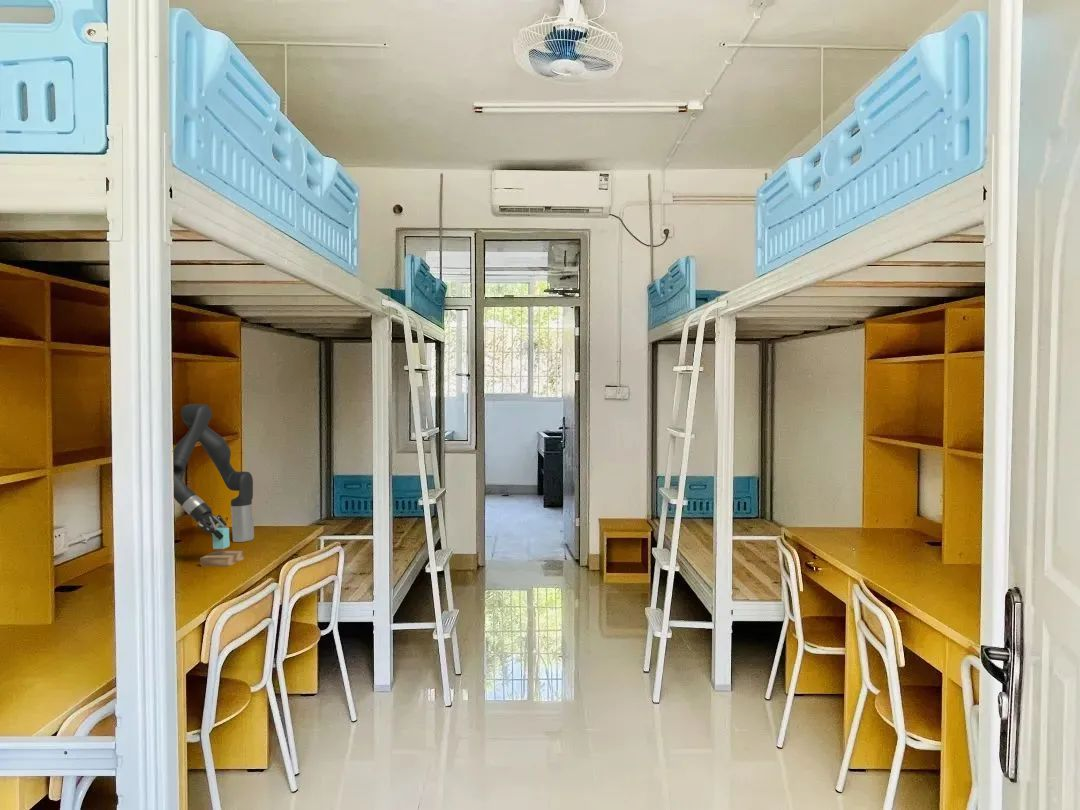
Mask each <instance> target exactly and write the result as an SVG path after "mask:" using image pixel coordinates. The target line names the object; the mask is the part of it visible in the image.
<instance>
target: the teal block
mask: <svg viewBox="0 0 1080 810" xmlns="http://www.w3.org/2000/svg"><path fill="white" fill-rule="evenodd" d="M216 529H217V530H218V531H219V532H220V533H221V534H222V535H223V538H222V539H220V540H219V539H218V538H217V537H216V536H215V535H214V534H211V535H212V550H224V549H227V548H229V547H230V546H231V545H230V544H231V543H230V541H231V540H230V535H229V532H230V527H227V526H225V527H222V528H221V527H220V528H216Z"/></svg>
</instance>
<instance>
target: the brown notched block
mask: <svg viewBox="0 0 1080 810" xmlns="http://www.w3.org/2000/svg"><path fill="white" fill-rule="evenodd" d="M244 553H245V552H244V550H215V551H214V552H210V553H209V554H206V555H204V556H201V557H200V559H199V565H201V566H218V568H223V567H224V568H225V567H230V566H232V565H234V564H237V563H238V562H240V561H242V560H244V559H245V557H244V555H245V554H244Z"/></svg>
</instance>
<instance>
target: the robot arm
mask: <svg viewBox="0 0 1080 810" xmlns="http://www.w3.org/2000/svg"><path fill="white" fill-rule="evenodd" d="M210 407H211V406H209V405H207V404H205V403H204V404H202V403H201V404H200V403H190V404H185V405H184V406H183V407H181V410H180V417H181V419H182V421H183V423H184V424H185V425H186V427H188V429H189V430H188V431H187V433H186V434H185V435H184V436H183V437H182V438H181V439H180V440H179V441H178V442H177V443H176V445H175V446H174V448H173V449H174V497H173V498H174V499H175V501H176V502H177V503H178V504H179V505H180V507H182V508H183V510H184V511H185V512H186V514H188V515H189V516H190V517H191V519H193V520H194V521H195V522H196V523H197V527H198V528H200V529H201V530H202V531H204V532H205V533H206V534H208V535H210V534H211V535H212V534H214V535H215V536H216V537H217V538H218V539H219V540H220V539H222V538H223V535H222V534H221V533H220V532H219V531H218V530H217V529H216V528H222V527H227V525H228V524H227V523H226V521H225V520H224V518H223V517H222V515H220V514H218V515H214V514H213V513H212V512H213V509H212V508H211V507H210V506H209V505H208V504H207V503H206V502H205V501H204V500H203V499H202V498H201V497H199V496H198V495H197V494H196V493H195V492H194V491H193V490H192V489H191V488H189V486H188V485H186V483H185V482H184V480H183V479H184V474H185V470H186V467H187V465H188V462H189V460H190V457H191V454H192V452H193V450H194V448H195V447H196V444H197V443H198V441H199V443H200V445H201V446H202V447H203V449H204V451H205V453H206V454H207V455H208V457H209V458H210V460H211V461H212V462H213V464H214V466H215V467H216V469H217V471H218V472H219V474H220V476H221V478H222V480H223V482H224V484H225V486H226V487H227V489H228V490H230V491H234V492H235V491H236V492H238V496H236V497H234V498H232V499H231V501H230V512H231V513H230V514H231V532H230V531H229V536H230V535H231V533H232V542H234V543H244V542H249V541H252V540H255V539H254V538H255V530H254V529H255V527H254V518H253V503H252V502H253V499H254V498H253V497H254V480H253V479H254V478H253V476H252V474H251V472H249V471H236V470H235V468H233V466H232V464H231V457H232V450H231V448H230V446H229V445H228V442H226V440H225V439H224V438H223V437H222V436H221V435H220V434H218V433H217V432H216V431H214V430H213V429H212V428H211V427H209V426H208V425H209V423H210V421H211V419H212V413H213V412H212V409H211V408H210Z"/></svg>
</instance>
